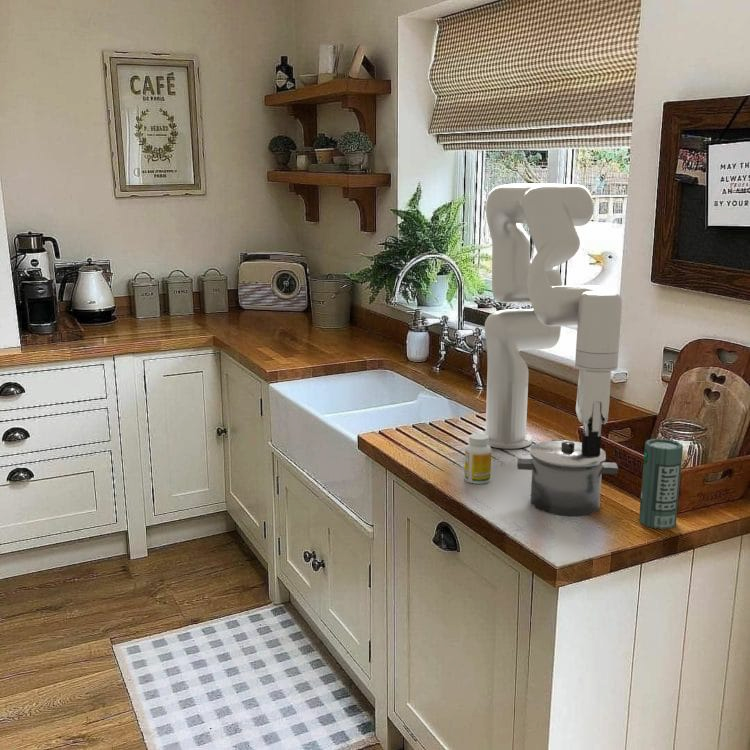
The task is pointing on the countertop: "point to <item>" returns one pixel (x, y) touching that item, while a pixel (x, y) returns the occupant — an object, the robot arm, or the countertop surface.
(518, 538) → the countertop surface
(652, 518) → the can
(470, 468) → the supplement bottle
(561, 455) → the lid
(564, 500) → the pot
